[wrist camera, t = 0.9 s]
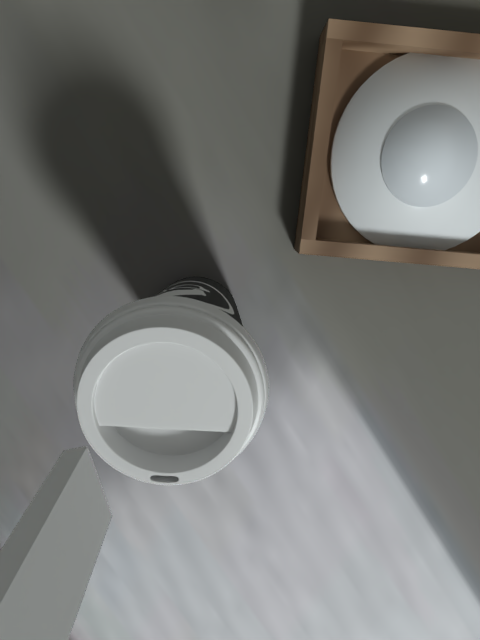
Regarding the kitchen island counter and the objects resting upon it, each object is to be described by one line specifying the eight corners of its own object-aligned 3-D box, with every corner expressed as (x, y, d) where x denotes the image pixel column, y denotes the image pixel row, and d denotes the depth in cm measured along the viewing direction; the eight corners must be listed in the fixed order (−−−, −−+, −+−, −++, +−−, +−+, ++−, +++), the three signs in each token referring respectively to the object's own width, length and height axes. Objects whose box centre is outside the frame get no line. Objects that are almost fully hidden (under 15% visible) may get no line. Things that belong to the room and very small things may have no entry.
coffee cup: (119, 343, 33) (29, 454, 19) (165, 235, 31) (101, 268, 17) (226, 390, 35) (217, 527, 20) (278, 289, 32) (310, 364, 18)
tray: (293, 248, 31) (299, 253, 29) (319, 36, 27) (328, 18, 25) (500, 266, 32) (524, 273, 29) (555, 59, 28) (590, 45, 25)
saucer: (317, 245, 30) (319, 246, 29) (345, 40, 26) (348, 35, 25) (492, 260, 30) (499, 262, 30) (544, 60, 27) (553, 56, 26)
